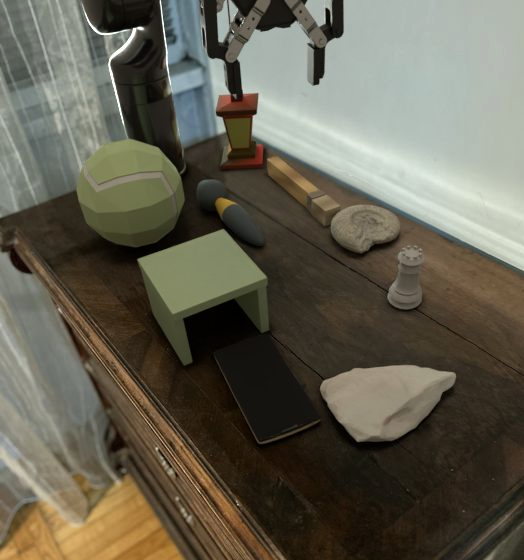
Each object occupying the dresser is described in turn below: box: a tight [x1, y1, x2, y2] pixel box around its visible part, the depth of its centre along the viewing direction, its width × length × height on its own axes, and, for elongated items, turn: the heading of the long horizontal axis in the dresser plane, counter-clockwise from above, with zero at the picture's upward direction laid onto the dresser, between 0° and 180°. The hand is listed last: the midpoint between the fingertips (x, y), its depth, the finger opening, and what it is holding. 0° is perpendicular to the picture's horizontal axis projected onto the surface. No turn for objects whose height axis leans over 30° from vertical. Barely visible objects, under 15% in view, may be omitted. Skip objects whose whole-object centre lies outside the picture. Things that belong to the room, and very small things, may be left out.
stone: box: [319, 364, 457, 443], centre depth 60 cm, size 11×4×15 cm
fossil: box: [330, 204, 401, 255], centre depth 83 cm, size 11×4×10 cm
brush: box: [266, 155, 341, 227], centre depth 92 cm, size 20×3×3 cm, turn 28°
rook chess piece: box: [387, 244, 425, 311], centre depth 71 cm, size 4×4×8 cm
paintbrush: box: [196, 178, 265, 247], centre depth 87 cm, size 20×5×5 cm, turn 38°
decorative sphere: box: [75, 138, 186, 248], centre depth 82 cm, size 15×15×15 cm
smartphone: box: [213, 333, 322, 445], centre depth 64 cm, size 7×1×15 cm
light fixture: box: [215, 0, 265, 170], centre depth 93 cm, size 8×8×30 cm
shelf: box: [136, 228, 270, 366], centre depth 70 cm, size 12×12×9 cm
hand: (275, 89), depth 59 cm, fingers open, 8 cm apart
